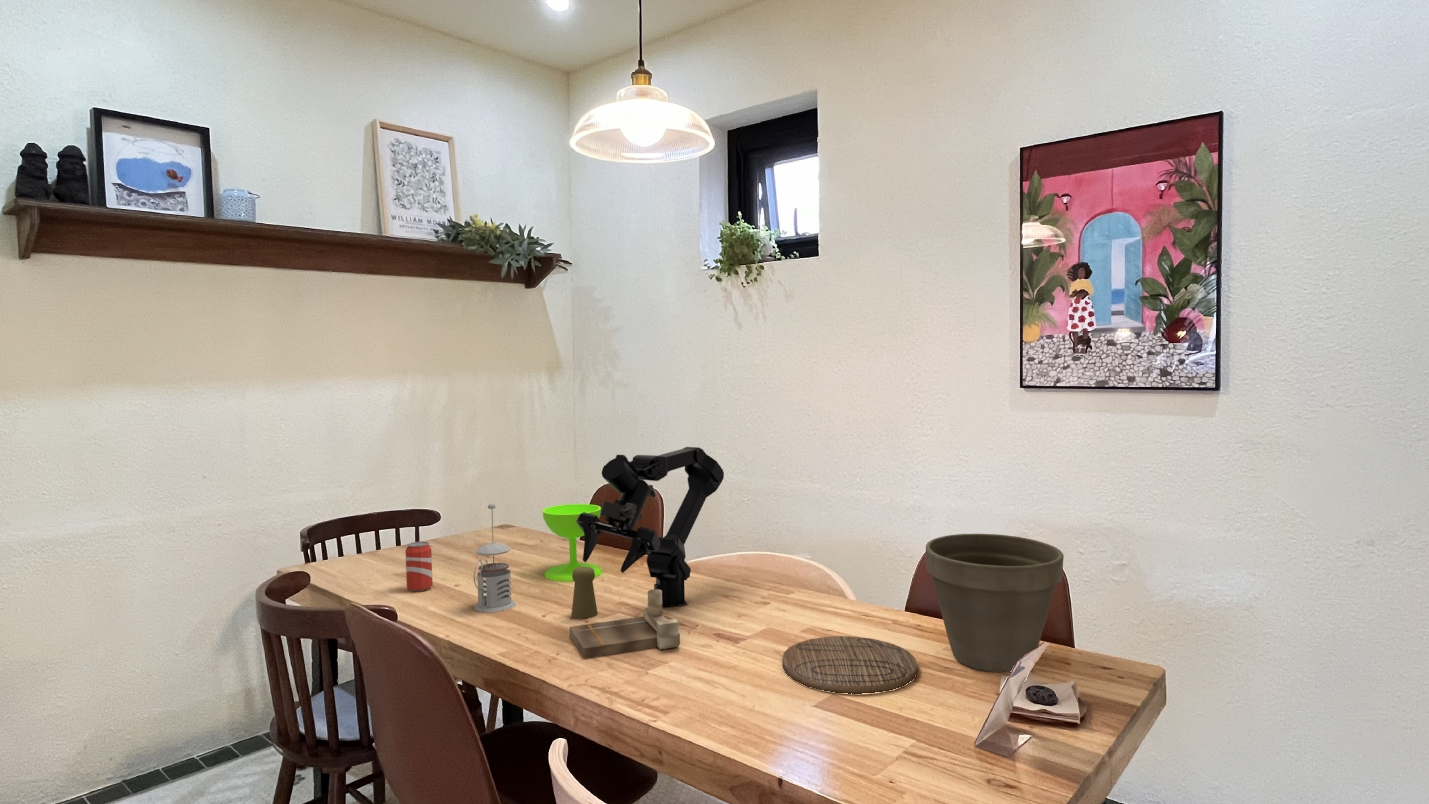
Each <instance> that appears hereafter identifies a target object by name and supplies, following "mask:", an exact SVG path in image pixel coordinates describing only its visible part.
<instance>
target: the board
mask: <svg viewBox="0 0 1429 804" xmlns="http://www.w3.org/2000/svg"><path fill="white" fill-rule="evenodd" d="M569 638H570V639H571V640H572V641H573V644H574V645H575V646H576V648H577V650H578V652H579V653H580V655H581V656H582V657H583V659H589V658H595V657H603V656H608V655H615V654H620V653H628V652H634V651H639V650H647V649H653V648H658V646H657V631H656V630H655V629H654V628H653V627H652V626H651V625H650V624H649V623H648V622H647V621H646V620H645V615H643V616H637V617H635V616H634V617H630V618H629V617H628V618H622V619H617V620H616V619H614V620H608V621H601V622H594V623H587V624H580V625H573V626H569ZM679 644H681V635H680V633H679Z"/></svg>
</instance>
